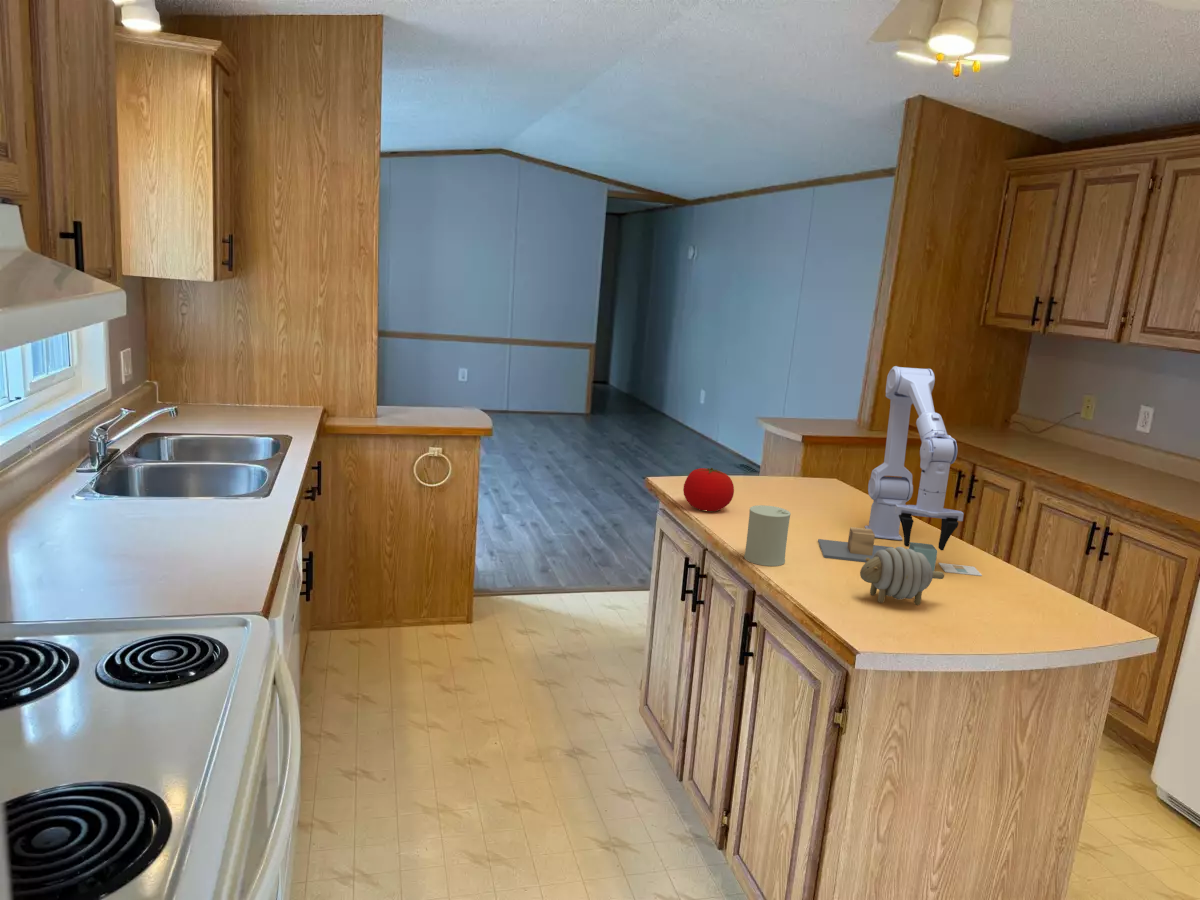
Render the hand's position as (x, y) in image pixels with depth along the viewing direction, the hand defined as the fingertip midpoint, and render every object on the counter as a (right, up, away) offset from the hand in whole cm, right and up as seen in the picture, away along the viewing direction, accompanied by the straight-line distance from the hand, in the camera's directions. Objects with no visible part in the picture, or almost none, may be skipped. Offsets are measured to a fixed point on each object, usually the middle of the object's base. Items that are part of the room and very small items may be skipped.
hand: (923, 547), depth 191 cm
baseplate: (-12, -2, +8) cm, 15 cm away
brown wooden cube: (-12, -2, +7) cm, 15 cm away
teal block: (0, -5, +1) cm, 5 cm away
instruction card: (+9, -5, +1) cm, 10 cm away
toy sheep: (-14, -8, -22) cm, 27 cm away
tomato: (-45, +6, +38) cm, 59 cm away
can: (-37, -3, -2) cm, 37 cm away
